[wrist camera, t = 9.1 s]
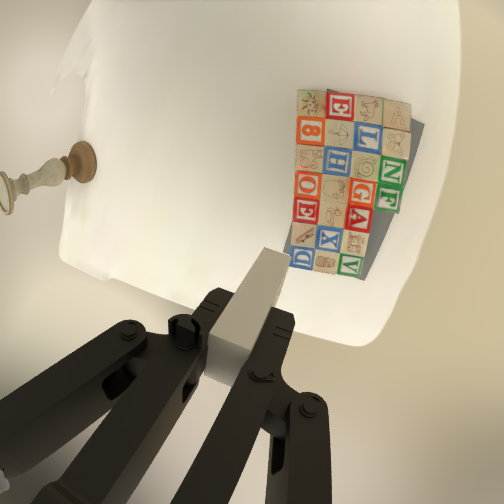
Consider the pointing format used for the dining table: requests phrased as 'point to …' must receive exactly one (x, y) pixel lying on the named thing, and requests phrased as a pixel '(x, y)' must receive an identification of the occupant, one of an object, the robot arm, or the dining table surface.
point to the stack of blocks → (345, 176)
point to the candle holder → (49, 175)
